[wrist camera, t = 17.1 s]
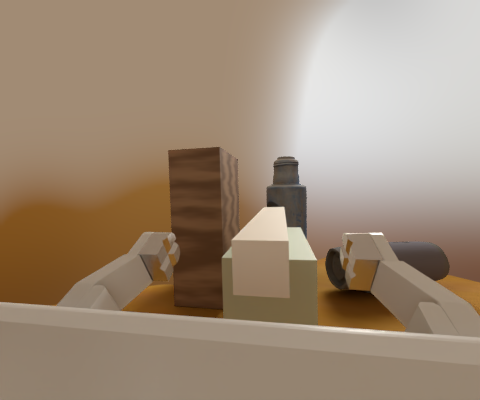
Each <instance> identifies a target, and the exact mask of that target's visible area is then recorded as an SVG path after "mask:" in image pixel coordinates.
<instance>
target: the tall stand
mask: <svg viewBox="0 0 480 400" xmlns="http://www.w3.org/2000/svg"><path fill="white" fill-rule="evenodd" d="M168 154H169V179H170V203H171V228H172V233H174V234H175V237H176V240H175V243H177V244H178V245H179V248H180V257H179V260H178V262H177V264H175V265H174V266H173V269H174V271H173V276H174V300H175V306H184V307H198V308H212V309H223V287H222V257H223V255H224V254H225V253H226V252H227V251H228V250H229V249H230V247H231V246H232V241H231V240H232V239H233V238H234V237H235V236H236V235H237V234H238V233H239V232H240V229H239V196H238V194H239V193H238V159H236V158H235V157H233V156H232V155H230V154H229V153H228V152H226V151H225V150H223V149H222V148H220V147H213V148H197V149H182V150H169V151H168Z"/></svg>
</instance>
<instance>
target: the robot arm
mask: <svg viewBox="0 0 480 400" xmlns="http://www.w3.org/2000/svg"><path fill="white" fill-rule="evenodd" d="M175 240H176V237H175V234H174V233H167V232H166V233H165V232H145V233H143V234H142V235H141V237H140V238H139V240H138V241H137V242H136V243H135V245H134V246H133V247H132V249H131V250H130V251H129V253H128V254H127V255H123V256H121V257H119V258H118V259H116V260H114V261H113V262H111V263H109V264H108V265H106V266H104V267H103V268H101V269H99V270H98V271H96V272H94V273H92V274H91V275H89V276H87V277H86V278H84V279H82V280H81V281H79V282H77V283H76V284H75V285H74V287H73V288H72V289H71V290H70V291H69V292H68V293H67V294H66V295H65V297H64V298H63V299H62V300H61V301H60V302H59V303H58V304H57V306H46V305H32V304H18V303H5V302H0V400H480V316H479V315H478V313H477V312H476V311H475V309H474V308H473V307H472V306H471V304H470V303H468V302H466V301H465V300H463V299H462V298H460V297H459V296H457V295H456V294H454V293H452V292H451V291H449V290H448V289H446V288H445V287H443V286H441V285H440V284H438V283H437V282H435V281H434V280H432V279H430V278H429V277H427V276H426V275H424V274H423V273H421V272H419V271H418V270H416V269H415V268H413V267H412V266H410V265H408V264H407V263H405V262H404V261H399V260H398V258H397V257H396V255H395V253H394V252H393V250H392V248H391V247H390V245H389V243H388V242H387V240H386V239H385V237H384V235H383V234H382V233H344V234H343V237H342V241H343V246H342V247H341V249H340V260H341V265H342V268H343V269H344V270H345V271H346V273H345V278H346V282H347V285H348V288H349V289H352V290H366V291H371V293H372V294H373V295H374V296H375V297H376V298H377V299H378V300H379V301H380V302H381V303H382V304H383V305H384V306H385V307H386V308H387V309H388V310H389V311H390V312H391V313H392V314H393V315H394V316H395V317H396V318H397V319H398V320H399V321H400V322H401V323H402V324H403V325H404V326H405V327H406V330H405V332H398V331H384V330H371V329H357V328H344V327H330V326H317V325H303V324H289V323H275V322H262V321H248V320H235V319H222V318H208V317H195V316H182V315H168V314H155V313H141V312H128V311H121V310H122V309H123V308H124V307H125V306H126V305H127V304H128V303H130V302H131V301H132V300H133V299H134V298H135V297H136V296H137V295H138V294H140V293H141V292H142V291H143V290H144V289H145V288H146V287H147V286H148V285H150V284H151V283H152V282H153V281H169V279H170V277H171V275H172V273H173V271H174V269H173V266H174V265H175V264H177V262H178V260H179V257H180V248H179V245H178V244H177V243H175Z"/></svg>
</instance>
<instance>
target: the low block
mask: <svg viewBox="0 0 480 400" xmlns="http://www.w3.org/2000/svg"><path fill="white" fill-rule="evenodd" d="M287 232H288V239H289V284H290V298H276V297H259V296H242V295H233V275H232V246H231V247H230V249H229V250H228V251H227V252H226V253H225V254H224V255H223V257H222V287H223V319H235V320H248V321H262V322H275V323H289V324H303V325H317V326H318V308H317V260H316V258H315V256H314V254H313V252H312V250H311V248H310V246H309V244H308V242H307V240H306V238H305V236H304V234H303V231H302V229H301V227H287Z"/></svg>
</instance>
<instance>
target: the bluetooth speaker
mask: <svg viewBox="0 0 480 400" xmlns="http://www.w3.org/2000/svg"><path fill="white" fill-rule="evenodd" d="M388 243H389V245H390V247H391V248H392V250H393V252H394V253H395V255H396V257H397V258H398V260H399V261H404V262H405V263H407V264H408V265H410V266H412V267H413V268H415V269H416V270H418V271H419V272H421V273H423V274H424V275H426V276H427V277H429V278H430V279H432V280H434V281H437V280H440V279H443V278H445V277H446V276H447V274H448V273H449V262H448V259H447V257H446V255H445V254H444V252H443V250H442V249H441V248H440V247H439V246H437V245H435V244H433V243H430V242H429V243H428V242H388ZM340 249H341V247H337V248H332V249H330V250H329V251H328V253H327V257H326V262H325V265H326V271H327V275H328V277H329V279H330V281H331V283H332V284H333V285H334V286H335V287H337V288H338V289H348V290H352V289H349V288H348V285H347V282H346V278H345V273H346V271H345V270H344V269H343V268H342V265H341V260H340ZM363 291H364V292H367V293H371V291H366V290H363Z"/></svg>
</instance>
